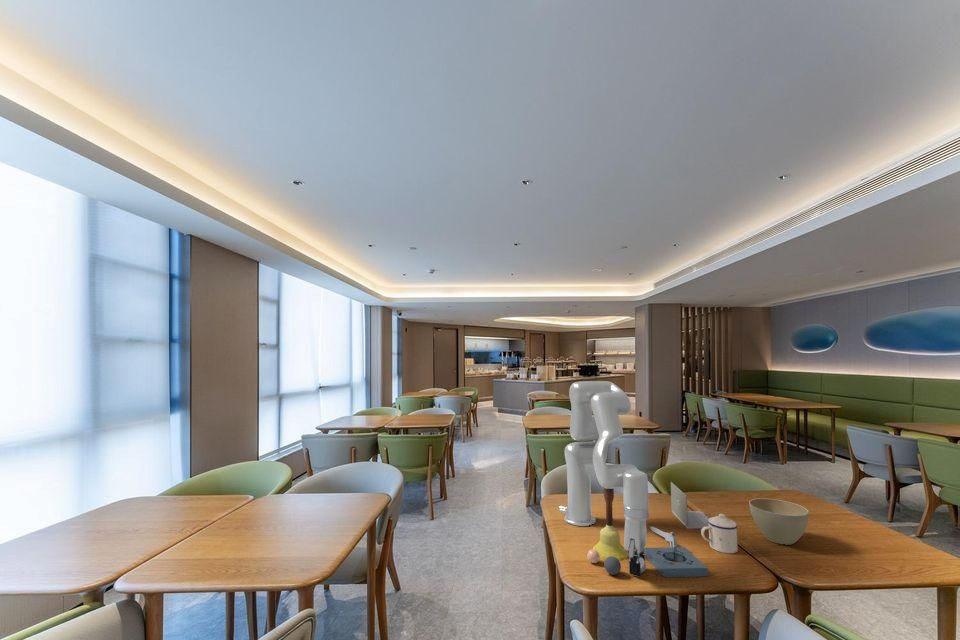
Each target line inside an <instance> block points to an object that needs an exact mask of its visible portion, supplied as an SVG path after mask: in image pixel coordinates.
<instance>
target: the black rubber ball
mask: <svg viewBox="0 0 960 640" xmlns="http://www.w3.org/2000/svg"><path fill="white" fill-rule="evenodd" d="M603 566H604V569H605V571H606V572H607V573H608V574H610V575H613V576H615V575H617V574H619V573H620V572H621V569H622V565H621V562H620V561H619V560H618V559H617V558H615V557H613V556H610V557H607V558H606V559H604V563H603Z"/></svg>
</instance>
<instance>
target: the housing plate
mask: <svg viewBox="0 0 960 640" xmlns="http://www.w3.org/2000/svg"><path fill="white" fill-rule="evenodd" d="M644 551H645V553H644V554H643V555H645V559H647V560H648V561H649V562H650V563H651V564H652V566H653V567H654V568H655V569H656V570H657V571H658V573H659V574H660V575H662V577H663V578H682V577H683V578H684V577H685V578H687V577H689V578H690V577H693V578H694V577H709V568H708V567H707V566H706V565H705V563H703V561H700V559H699V558H697V557H696V556H695V555H694V554H693V553H691V551H689V550H688V549H687V548H686V547H685V546H677V547H671V546H666V547H644ZM674 561H676V562H674Z"/></svg>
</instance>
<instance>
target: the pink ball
mask: <svg viewBox="0 0 960 640" xmlns="http://www.w3.org/2000/svg"><path fill="white" fill-rule="evenodd" d="M586 557H587V560H588V561H589V562H590V563H591V564H597V563H598V562H599V561H600V559H601V558H600V555H599V553H598V551H596V550H594V549H592V548H591V549H589V550H588V552H587V556H586Z"/></svg>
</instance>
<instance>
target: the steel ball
mask: <svg viewBox="0 0 960 640" xmlns="http://www.w3.org/2000/svg"><path fill="white" fill-rule="evenodd" d="M634 556H636V558H637V555H634ZM639 562H640V570H641V574H642V573H643V572H645V570H646V568H647V566H646V560H645V561H644V559H643V558H642V557H641V556H639Z"/></svg>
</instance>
